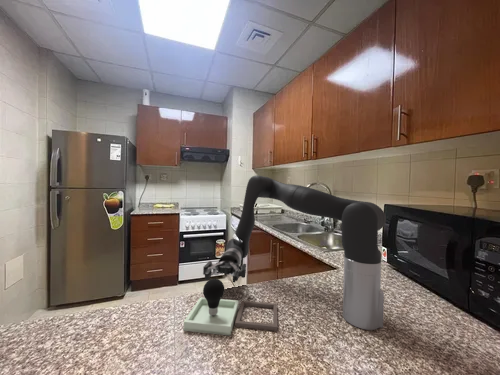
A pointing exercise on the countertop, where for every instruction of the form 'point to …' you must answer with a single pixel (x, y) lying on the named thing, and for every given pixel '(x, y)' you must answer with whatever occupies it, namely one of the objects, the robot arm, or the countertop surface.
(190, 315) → the parts tray
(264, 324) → the brown square frame
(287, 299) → the countertop surface
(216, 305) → the light bulb
